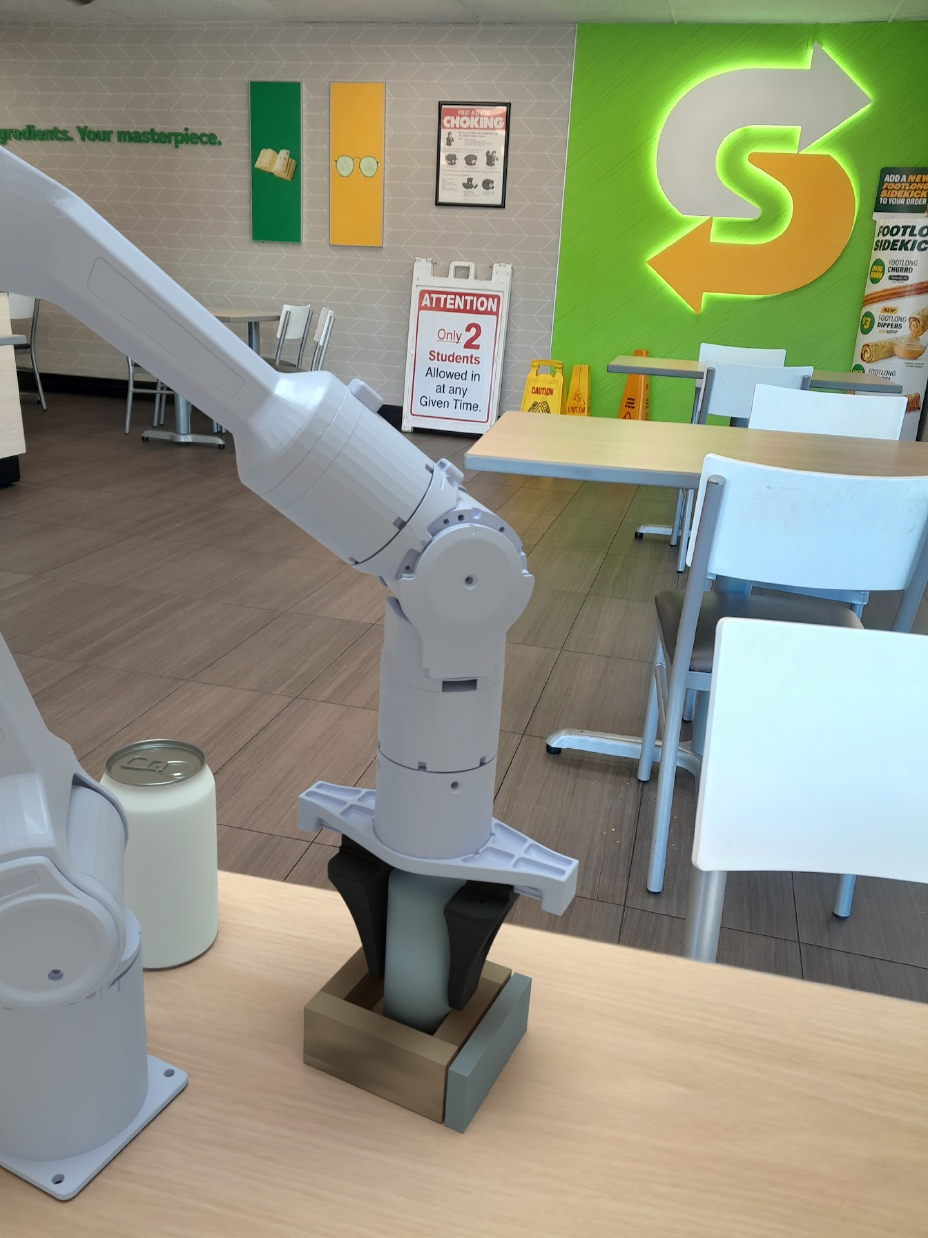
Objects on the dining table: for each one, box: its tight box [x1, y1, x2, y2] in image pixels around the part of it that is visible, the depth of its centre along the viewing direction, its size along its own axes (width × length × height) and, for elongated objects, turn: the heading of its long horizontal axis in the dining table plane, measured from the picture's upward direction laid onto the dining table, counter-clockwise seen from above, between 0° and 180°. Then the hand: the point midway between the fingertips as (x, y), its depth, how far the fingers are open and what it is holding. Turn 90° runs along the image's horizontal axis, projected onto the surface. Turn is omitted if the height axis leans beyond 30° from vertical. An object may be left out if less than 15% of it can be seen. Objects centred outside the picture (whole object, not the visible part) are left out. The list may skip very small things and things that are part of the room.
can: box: [99, 738, 219, 970], centre depth 58 cm, size 6×6×12 cm
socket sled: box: [302, 945, 513, 1124], centre depth 52 cm, size 8×8×4 cm
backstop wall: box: [443, 971, 533, 1135], centre depth 51 cm, size 1×8×4 cm, turn 154°
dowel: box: [383, 867, 467, 1036], centre depth 51 cm, size 4×4×9 cm
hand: (423, 982), depth 51 cm, fingers open, 4 cm apart
